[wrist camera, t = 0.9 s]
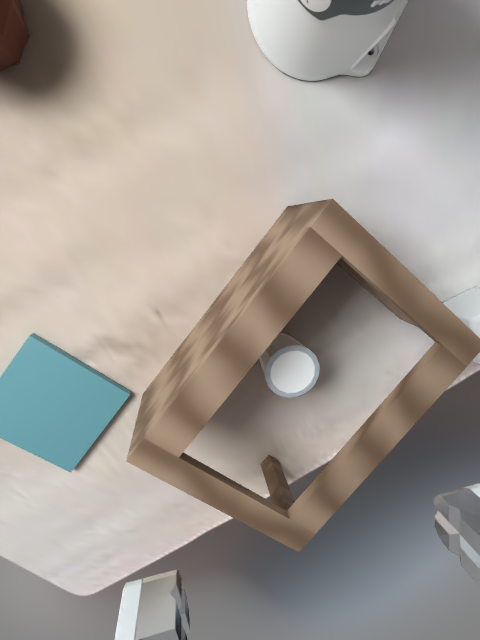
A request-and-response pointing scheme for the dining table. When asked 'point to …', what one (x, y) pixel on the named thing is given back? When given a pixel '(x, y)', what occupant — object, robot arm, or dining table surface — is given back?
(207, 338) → the box
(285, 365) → the shot glass
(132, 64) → the dining table surface
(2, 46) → the muffin
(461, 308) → the medicine bottle
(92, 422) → the mat
